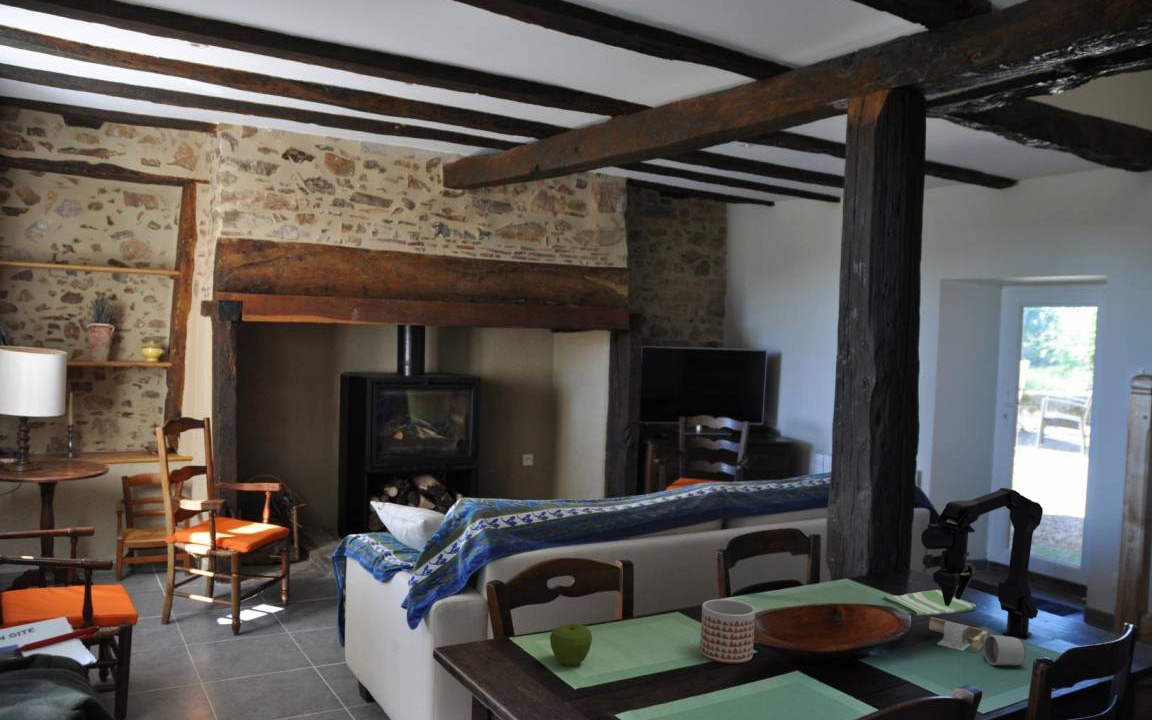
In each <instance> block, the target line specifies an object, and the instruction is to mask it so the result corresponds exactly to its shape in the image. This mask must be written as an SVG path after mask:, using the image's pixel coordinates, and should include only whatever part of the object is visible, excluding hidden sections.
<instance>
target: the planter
mask: <svg viewBox="0 0 1152 720" xmlns="http://www.w3.org/2000/svg"><path fill="white" fill-rule="evenodd" d="M755 621H756V608H755V607H754V606H753V605H751V604H749V603H746V602H743V601H739V600H735V599H726V598H724V599H723V598H721V599H719V598H718V599H710V600H706V601H704V602H703V603H702V607H701V623H700V624H701V625H700V638H699V639H700V641H699V642H700V644H699V653H700V654H701V655H702V656H703V657H704V658H706V659H707V660H711V661H713V662H717V663H722V664H730V665H732V664H734V665H736V664H745V663H747V662H750V661H751V660H752V659H753V656H754V643H755V641H754V638H755Z"/></svg>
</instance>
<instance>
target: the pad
mask: <svg viewBox="0 0 1152 720" xmlns="http://www.w3.org/2000/svg"><path fill="white" fill-rule="evenodd" d="M936 645H937V646H942V647H945V646H946V647H945V648H949V649H954V650H957V651H961V652H964V651H965V650H967V649H968V648H969V647H971V646H972V643H969V642H968V644H967V645H966V646H965V647H963V648H962V649H960V648H956V647H952V645H953V642H949V641H945V640H943V639H941V640H940V641H939V642H937V643H936Z"/></svg>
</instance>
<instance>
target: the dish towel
mask: <svg viewBox="0 0 1152 720" xmlns="http://www.w3.org/2000/svg"><path fill="white" fill-rule="evenodd" d="M881 596H882V597H883V600H884V601H885V602H887V603H890V604H892V605H894V606H897V607H899V608H901V609H903V610H905V611H908V613H909V614H913V615H914V616H916V617H920V616H934V615H937V616H938V615H947V614H958V613H966V612H969V611H973V610H974V609H975V608H976V606H977V605H976V604H975V603H973V602H969V601H967V600H964V599H961V598H960V599H959V600H958V599H956V598H955V596H954V597H953V599H952V601H951V603H950V605H949V606H945V603H944V599H943V594H942V590H941V589H932V590H926V591H923V590H922V591H918V592H911V593H905V594H902V595H890V594H882V595H881Z"/></svg>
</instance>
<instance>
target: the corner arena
mask: <svg viewBox="0 0 1152 720" xmlns="http://www.w3.org/2000/svg"><path fill="white" fill-rule="evenodd" d="M946 621H947V619H946V620H945V619H941V618H937V617H934V616H931V617H930V616H929V626H928V627H929V630H930V631H933V632H937V633H941V634H944V624H945V622H946ZM961 624H962V623H961ZM962 625H964V623H963V624H962ZM968 626H969V639H970V640H969V639H968V640H969V641H971V651H970V652H971V653H975V654H977V653H978V652H979V651H980V650H981V648H982V647H983V646H984V641H985V639H986V637H987V636H989V634H990V631H989V630H987V629H984V628H983V629H982V628H978V627H974V626H970V625H968ZM983 648H984V647H983ZM983 648H982V649H983Z"/></svg>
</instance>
